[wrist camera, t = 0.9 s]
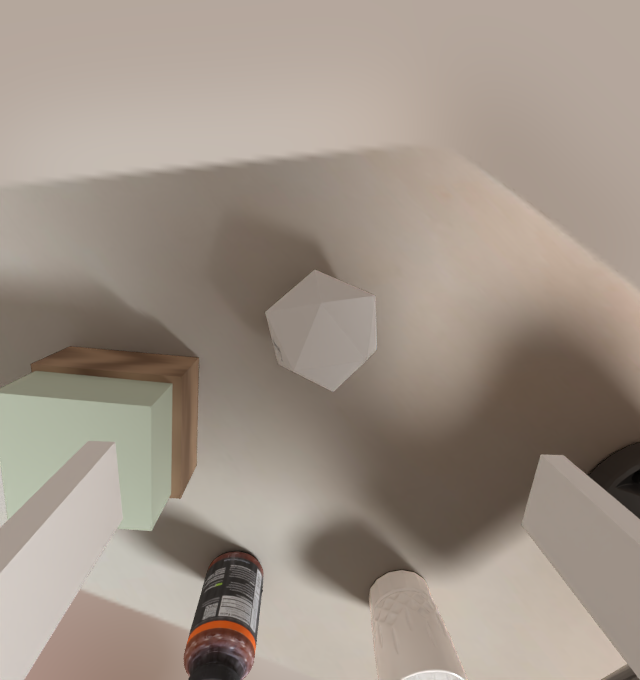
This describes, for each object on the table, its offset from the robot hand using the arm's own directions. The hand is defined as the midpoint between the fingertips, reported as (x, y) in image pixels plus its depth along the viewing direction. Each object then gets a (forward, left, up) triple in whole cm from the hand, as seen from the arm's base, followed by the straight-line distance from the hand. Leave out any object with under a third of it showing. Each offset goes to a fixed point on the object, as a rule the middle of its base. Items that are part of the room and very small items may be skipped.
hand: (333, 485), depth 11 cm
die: (-1, -1, -21) cm, 22 cm away
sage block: (+16, +9, -17) cm, 25 cm away
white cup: (-13, +29, -21) cm, 38 cm away
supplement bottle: (+5, +27, -21) cm, 35 cm away
